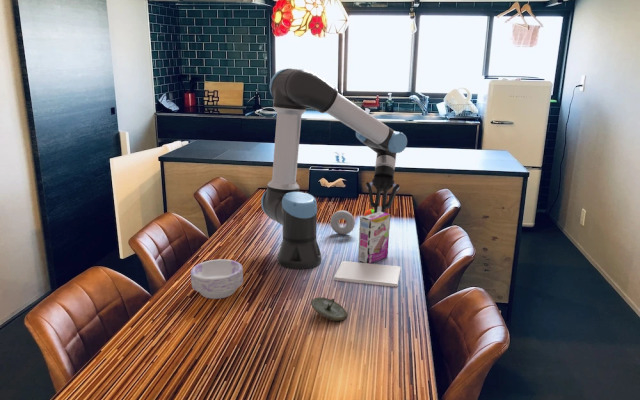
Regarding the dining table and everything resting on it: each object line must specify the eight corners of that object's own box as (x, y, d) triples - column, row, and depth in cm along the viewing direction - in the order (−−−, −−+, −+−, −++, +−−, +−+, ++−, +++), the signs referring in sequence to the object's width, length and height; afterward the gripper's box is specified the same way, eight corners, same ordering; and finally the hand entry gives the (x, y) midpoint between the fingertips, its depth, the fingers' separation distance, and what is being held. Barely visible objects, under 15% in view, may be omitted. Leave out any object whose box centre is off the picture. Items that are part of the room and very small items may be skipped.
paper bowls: (188, 286, 156) (186, 262, 154) (236, 278, 162) (235, 255, 160) (196, 308, 143) (195, 282, 140) (249, 298, 148) (248, 273, 146)
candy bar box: (368, 265, 173) (370, 220, 169) (357, 261, 177) (359, 216, 172) (388, 257, 181) (391, 213, 176) (377, 253, 184) (379, 210, 180)
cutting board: (342, 263, 175) (342, 260, 174) (400, 269, 170) (400, 266, 170) (334, 280, 162) (334, 277, 161) (397, 286, 157) (397, 283, 157)
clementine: (380, 228, 212) (381, 211, 210) (364, 227, 212) (364, 211, 210) (379, 222, 220) (379, 206, 218) (363, 221, 220) (363, 206, 218)
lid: (311, 306, 145) (311, 290, 143) (346, 306, 144) (346, 290, 143) (310, 324, 134) (310, 307, 133) (347, 325, 134) (348, 308, 133)
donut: (355, 234, 204) (356, 210, 202) (353, 236, 201) (354, 212, 199) (331, 231, 207) (331, 208, 204) (329, 234, 204) (329, 210, 201)
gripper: (401, 175, 198) (396, 229, 187) (368, 173, 201) (361, 226, 190) (401, 165, 192) (395, 220, 181) (367, 163, 195) (359, 217, 184)
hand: (378, 223), depth 185 cm, fingers closed
